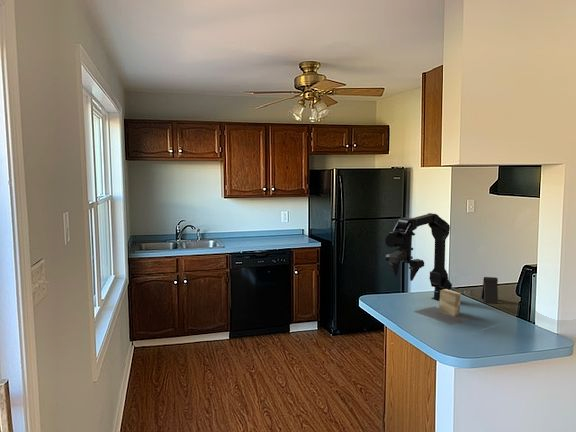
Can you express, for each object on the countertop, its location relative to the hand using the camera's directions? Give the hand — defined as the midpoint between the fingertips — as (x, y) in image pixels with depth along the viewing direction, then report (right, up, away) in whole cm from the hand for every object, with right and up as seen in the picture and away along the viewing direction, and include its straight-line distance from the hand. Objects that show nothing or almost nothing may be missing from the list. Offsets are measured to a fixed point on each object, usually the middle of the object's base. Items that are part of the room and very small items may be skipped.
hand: (403, 278), depth 213 cm
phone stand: (+47, -14, +18) cm, 53 cm away
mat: (+16, -16, -7) cm, 23 cm away
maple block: (+20, -15, -4) cm, 25 cm away
